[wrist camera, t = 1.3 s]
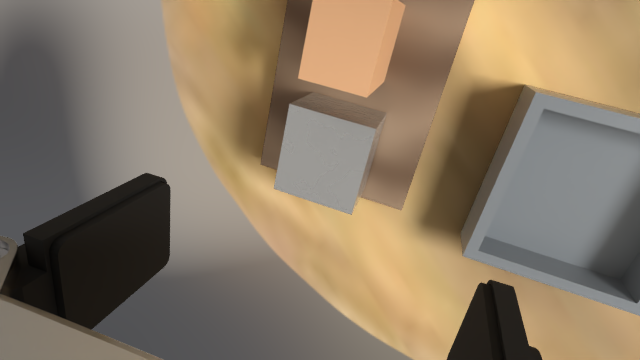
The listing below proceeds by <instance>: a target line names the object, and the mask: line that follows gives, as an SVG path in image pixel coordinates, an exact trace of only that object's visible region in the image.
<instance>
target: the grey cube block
mask: <svg viewBox="0 0 640 360" xmlns="http://www.w3.org/2000/svg"><path fill="white" fill-rule="evenodd" d="M386 114H387V113H385V112H381V111H378V110H374V109H371V108H367V107H364V106H360V105H356V104H353V103H349V102H346V101H342V100H339V99H335V98H332V97H328V96H325V95H321V94H318V93H314V92H313V93H311V94H309V95H307V96H305V97H303V98H300V99H298V100H296V101H294V102H292V103H290V104H289V109H288V115H287V120H286V125H285V131H284V136H283V142H282V147H281V152H280V158H279V163H278V169H277V174H276V179H275V185H274V189H276V190H279V191H282V192H285V193H288V194H291V195H294V196H297V197H300V198H303V199H306V200H309V201H312V202H315V203H318V204H321V205H324V206H327V207H330V208H333V209H336V210H339V211H342V212H345V213H348V214H351V215H352V213H353V211H354V209H355V207H356V205H357V203H358V200H359V198H360V196H361V194H362V192H363V190H364V188H365V185H366V182H367V178H368V175H369V172H370V168H371V165H372V161H373V158H374V155H375V151H376V148H377V144H378V141H379V138H380V134H381V131H382V127H383V124H384V121H385V117H386Z"/></svg>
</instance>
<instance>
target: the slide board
mask: <svg viewBox="0 0 640 360" xmlns="http://www.w3.org/2000/svg"><path fill="white" fill-rule="evenodd" d="M312 1H313V0H288V2H287V8H286V14H285V20H284V26H283V32H282V38H281V44H280V50H279V56H278V62H277V68H276V74H275V80H274V87H273V93H272V99H271V105H270V111H269V117H268V123H267V129H266V135H265V141H264V147H263V153H262V159H261V165H264V166H267V167H270V168H273V169H276V170H277V169H278V163H279V158H280V152H281V147H282V142H283V136H284V131H285V125H286V120H287V115H288V109H289V104H290V103H292V102H294V101H296V100H298V99H300V98H303V97H305V96H307V95H309V94H311V93H313V92H314V93H318V94H321V95H325V96H328V97H332V98H335V99H339V100H342V101H346V102H349V103H353V104H356V105H360V106H364V107H367V108H371V109H374V110H378V111H381V112H385V113H387V114H386V117H385V121H384V124H383V127H382V131H381V134H380V138H379V141H378V144H377V148H376V151H375V155H374V158H373V161H372V165H371V168H370V172H369V175H368V178H367V182H366V185H365V188H364V190H363V192H362V194H361V196H360V197H362V198H365V199H368V200H371V201H374V202H377V203H380V204H384V205H387V206H390V207H393V208H396V209H399V210H402V208H403V205H404V202H405V199H406V196H407V193H408V190H409V187H410V185H411V182H412V179H413V176H414V173H415V170H416V167H417V164H418V161H419V159H420V156H421V153H422V150H423V147H424V144H425V141H426V138H427V136H428V133H429V130H430V127H431V124H432V121H433V118H434V115H435V112H436V110H437V107H438V104H439V101H440V98H441V95H442V92H443V89H444V87H445V84H446V81H447V78H448V75H449V72H450V69H451V66H452V64H453V61H454V58H455V55H456V52H457V49H458V46H459V43H460V40H461V38H462V35H463V32H464V29H465V26H466V23H467V20H468V17H469V15H470V12H471V9H472V6H473V3H474V0H399V1H400V2H402V3H403V4H404V5H406V6H405V9H404V13H403V16H402V20H401V24H400V27H399V31H398V34H397V38H396V41H395V45H394V48H393V52H392V56H391V59H390V63H389V66H388V70H387V73H386V77H385V80H384V82H383V83H382V84H381V85H380V86H379V87H378V88H377V89H376V90H375V91H374V92H373V93H371V94H370V95H369V96H368V97H367V98H366V97H363V96H359V95H356V94H352V93H348V92H345V91H341V90H338V89H334V88H330V87H327V86H323V85H320V84H316V83H312V82H309V81H305V80H302V79H298V75H299V70H300V65H301V59H302V54H303V49H304V44H305V38H306V33H307V28H308V22H309V17H310V12H311V7H312Z"/></svg>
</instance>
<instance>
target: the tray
mask: <svg viewBox="0 0 640 360" xmlns="http://www.w3.org/2000/svg"><path fill="white" fill-rule="evenodd" d="M461 243H462V254H463V256H464V257H467V258H470V259H473V260H476V261H479V262H482V263H485V264H488V265H491V266H494V267H497V268H500V269H503V270H506V271H509V272H511V273H514V274H517V275H520V276H523V277H526V278H529V279H532V280H535V281H538V282H541V283H544V284H547V285H550V286H553V287H556V288H559V289H562V290H565V291H568V292H571V293H574V294H577V295H580V296H583V297H586V298H589V299H591V300H594V301H597V302H600V303H603V304H606V305H609V306H612V307H615V308H618V309H621V310H624V311H627V312H630V313H633V314H636V315H639V316H640V114H639V113H635V112H631V111H627V110H623V109H619V108H615V107H611V106H607V105H603V104H600V103H596V102H592V101H588V100H584V99H580V98H576V97H572V96H568V95H564V94H560V93H556V92H552V91H548V90H544V89H540V88H536V87H532V86H528V85H524V87H523V90H522V92H521V94H520V97H519V99H518V101H517V103H516V106H515V108H514V110H513V113H512V115H511V117H510V120H509V122H508V124H507V127H506V129H505V131H504V134H503V136H502V138H501V141H500V143H499V145H498V148H497V150H496V152H495V154H494V157H493V159H492V161H491V164H490V166H489V168H488V171H487V173H486V175H485V178H484V180H483V182H482V185H481V187H480V189H479V192H478V194H477V196H476V198H475V201H474V203H473V205H472V208H471V210H470V212H469V215H468V217H467V219H466V222H465V224H464V226H463V229H462V231H461Z"/></svg>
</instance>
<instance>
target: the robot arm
mask: <svg viewBox="0 0 640 360" xmlns="http://www.w3.org/2000/svg"><path fill="white" fill-rule="evenodd" d="M23 236H24V241H25V244H23V245H21V246H19V247H18V245H17V243H16V242H15V241H14V240H13V239H11V238H8V237H3V236H0V360H163V359H161V358H158V357H156V356H153V355H151V354H149V353H146V352H144V351H141V350H139V349H136V348H134V347H132V346H129V345H127V344H124V343H122V342H119V341H117V340H114V339H112V338H110V337H107V336H105V335H103V334H100V333H98V332H95V331H93V330H91V329H93V328H94V327H95V326H96V325H97V324H98V323H100V322H101V321H102V320H103V319H104V318H105V317H106V316H108V315H109V314H110V313H111V312H112V311H113V310H115V309H116V308H117V307H118V306H119V305H120V304H122V303H123V302H124V301H125V300H126V299H127V298H128V297H130V296H131V295H132V294H133V293H134V292H135V291H137V290H138V289H139V288H140V287H141V286H143V285H144V284H145V283H146V282H147V281H148V280H150V279H151V278H152V277H153V276H154V275H155V274H156V273H158V272H159V271H160V270H161V269H162V268H163V267H164V266H165V265H166V264H167V262H168V260H169V256H170V186H169V185H168V184H167V182H166V180H165V179H164V178H162V177H158V176H155V175H152V174H149V173H145V174H142V175H140V176H138V177H137V178H134V179H132V180H131V181H128V182H126V183H124V184H122V185H120V186H118V187H116V188H114V189H112V190H110V191H109V192H106V193H104V194H102V195H100V196H98V197H96V198H94V199H92V200H90V201H88V202H86V203H84V204H82V205H80V206H78V207H76V208H74V209H72V210H70V211H68V212H66V213H64V214H62V215H60V216H58V217H56V218H53V219H52V220H49V221H47V222H46V223H44V224H42V225H39V226H37V227H35V228H33V229H31V230H29V231H27V232H25V233H23ZM447 360H542V357H541V355H540V352H539V351H538V350H537V349H536V348H534V347H531V346H529V344H528V340H527V336H526V333H525V329H524V325H523V321H522V317H521V313H520V309H519V305H518V301H517V297H516V293H515V290H514V287H512V286H509V285H506V284H503V283H500V282H496V281H493V280H489V281H488V282H487V284H484V283H480V284H479V285H478V287H477V289H476V292H475V294H474V296H473V299H472V301H471V303H470V306H469V308H468V310H467V313H466V315H465V317H464V320H463V322H462V324H461V327H460V329H459V331H458V334H457V336H456V338H455V341H454V343H453V345H452V348H451V350H450V352H449V355H448V358H447Z"/></svg>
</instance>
